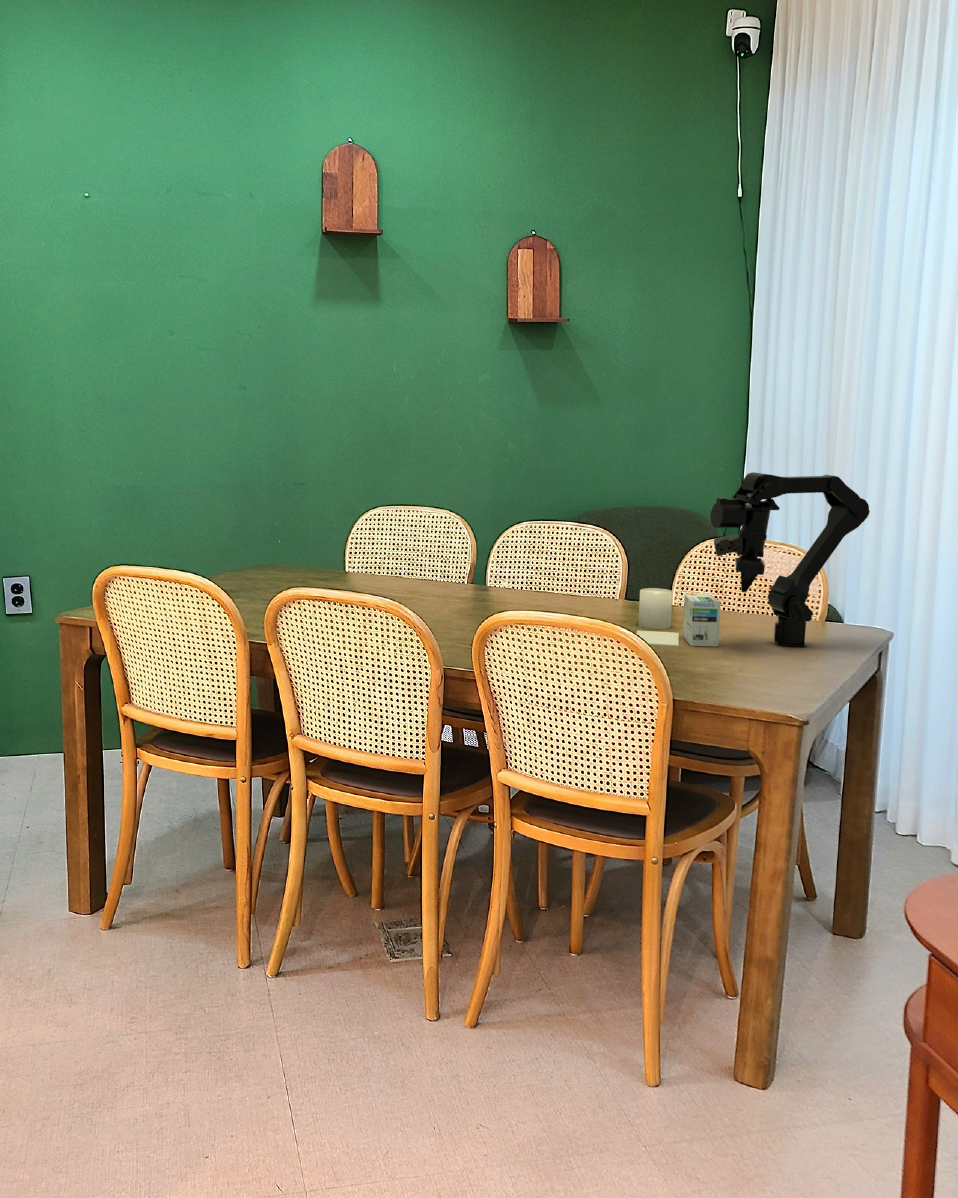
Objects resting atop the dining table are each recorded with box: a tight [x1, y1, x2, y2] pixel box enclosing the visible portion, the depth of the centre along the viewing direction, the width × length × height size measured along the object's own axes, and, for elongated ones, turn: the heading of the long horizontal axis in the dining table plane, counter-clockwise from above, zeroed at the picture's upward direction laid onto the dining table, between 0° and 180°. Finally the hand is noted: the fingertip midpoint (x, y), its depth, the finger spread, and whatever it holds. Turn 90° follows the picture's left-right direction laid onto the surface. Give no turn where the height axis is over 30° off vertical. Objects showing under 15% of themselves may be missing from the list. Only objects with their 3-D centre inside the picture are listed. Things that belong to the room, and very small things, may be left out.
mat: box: [636, 630, 680, 648], centre depth 262 cm, size 10×14×1 cm
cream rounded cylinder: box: [638, 587, 673, 630], centre depth 277 cm, size 8×8×9 cm
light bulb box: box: [682, 593, 722, 647], centre depth 259 cm, size 11×7×11 cm, turn 0°
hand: (743, 591), depth 257 cm, fingers closed
